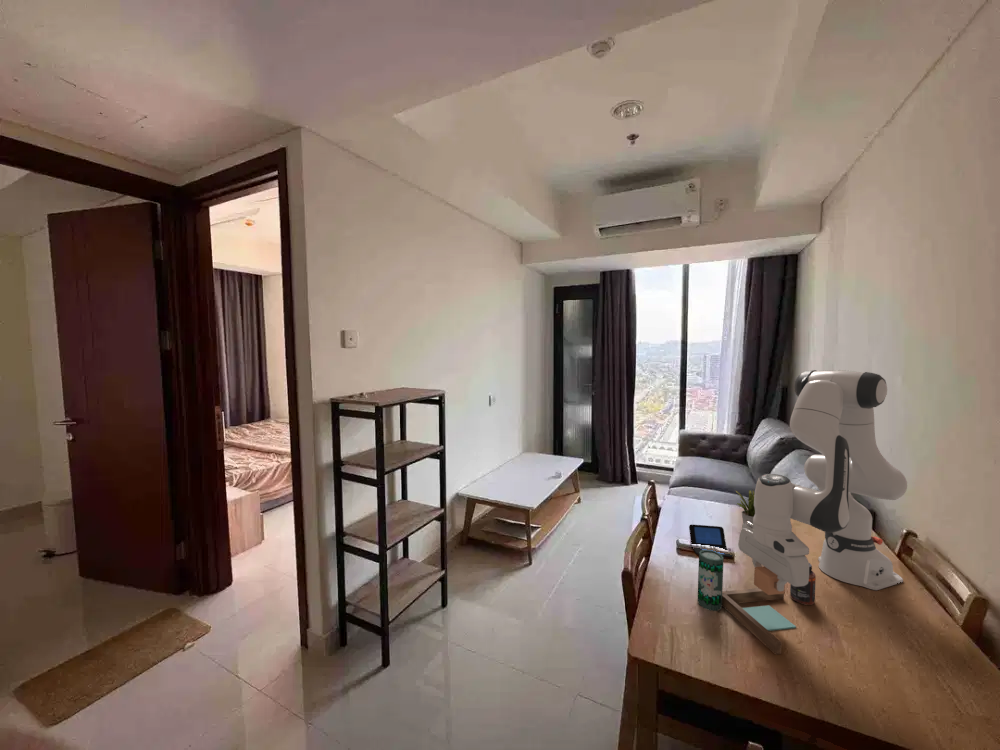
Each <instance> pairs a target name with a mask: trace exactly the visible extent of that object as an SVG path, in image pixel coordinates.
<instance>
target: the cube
mask: <svg viewBox="0 0 1000 750" xmlns="http://www.w3.org/2000/svg"><path fill="white" fill-rule="evenodd" d="M753 570H754V573H753V575H754V577H753V585H754V586H755V587H756V588H759V589H761V590H762V591H763V592H765V593H766V594H767V595H774V594H784V595H785V593H786V589H785V588H786V584H785V585H784V591H778V590H776V589H775V588H774V582H778V581H779V579H778V578H777V575H776V574H775V573H773V572H772V571H770V570H769V569H767V568H766V567H764V566H762V567H754V569H753Z"/></svg>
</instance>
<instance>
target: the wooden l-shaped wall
mask: <svg viewBox="0 0 1000 750" xmlns="http://www.w3.org/2000/svg"><path fill="white" fill-rule="evenodd" d="M784 596H785V594H774V595H767V594H766V593H765V592H763V591H762V590H761V589H759V588H758V587H756V588H746V589H745V588H744V589H735V590H724V591H723V590H722V607H723V608H724V609H725V610H726V611H727V612H728V613H730V614H731V615H732V616H733V617H734V618H735V619H737V620H738V622H739V623H740V624H742V625H743V626H744V627H745V628H746V629H747V630H748V631H749V632H750V633H751V634H752V635H753V636H755V638H757V639H758V640H759V641H760V642H762V644H764V645H765V646H766V647H767V648H768V649H769V650H770V651H771V652H772V653H773V654H775V655H781V654H782V641H781V640H780V639H778V638H777V637H776V636H775V635H774V634H772V633H771V631H768V630H767V629H766V628H765V627H763V626H762V625H761V624H760V623H759V622H758V621H756V620H755V619H754V618H753V617H752V616H751V615H749V614H748V613H747V612H746V611H745V610H744V609H743V608H744V607H742V606H740V605H739V604H741V603H744V604H745V603H750V602H751V603H753V602H763V601H772V600H774V601H775V600H782V599H783V600H784V598H785V597H784Z"/></svg>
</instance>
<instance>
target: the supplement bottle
mask: <svg viewBox="0 0 1000 750" xmlns="http://www.w3.org/2000/svg"><path fill="white" fill-rule="evenodd" d="M812 568H813V566H812V564H811V562H809V582H808V584H807V585H805V586H799V587H795V586H793V585H791V584H790V583H789V584H790V585H789V588H790V589H789V593H790V594H789V596H790V598H791V599H792V600H794V601H795V602H797V603H800V604H801V605H805V606H806V605H807V606H812V605H814V604H815V602H816V581H817V580H816V578H817V577H816V573H815V572H814V571H813V570H812Z"/></svg>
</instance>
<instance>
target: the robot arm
mask: <svg viewBox="0 0 1000 750" xmlns="http://www.w3.org/2000/svg"><path fill="white" fill-rule="evenodd" d="M794 392H795V395H796V396H797V399H796V401H795V404H794V406H793V407H794V408H793V410H792V413H791V416H790V419H789V429H790V431H791V433H792V435H793V436H794V437H795V438H796V439H797V440H798V441H800V442H801V443H802V444H804V445H805V446H808V447H809V448H811V449H813V450H815V451H816V452H818V453H821V454H812V455H810V456H809V457H808V458H807V459H806V461H805V462H804V466H803V468H804V473H805V476H806V477H807V479H808V480H809V481H810V482H812V484H814V486H815V487H817V489H818V490H817V489H813V488H810V487H806V486H802V485H799V484H796V483H794V482H793V483H792V482H791V481H792V480H790V479H789V478H788V477H787V476H785V475H781V474H777V473H767V474H766V473H765V474H762V475H760V476H759V477H758V478H757V481H756V485H755V490H754V493H755V495H754V508H755V515H754V518H753V524H752V523H751V522H748V521H746V522H744V523H743V522H742V525H741V529H740V531H739V538H738V549H739V550H740V551H741V552H742V553H743V554H745V555H746V556H748V557H749V558H751V559H752V565H753V567H754V568H755V567H766V568H767V569H769V570H770V571H772V572H773V573H775V574H776V575H777V578H778V579H779V581H778V582H774V588H775V589H776V590H778V591H784V585H785V586H786V585H787V583H788V584H791V585H793V586H795V587H799V586H805V585H807V584H808V582H809V563H810V562H809V560H808V558H807V556H808V555H809V554H810V548H809V547H808V546H807V545H806V544H805V542H803V541H802V540H801V539H800V538H799V537H798V536H797V535H796V534H795V533H794V532H793V531H792V530H793V526H792V522H791V520H795V521H797V522H799V523H803V524H805V525H809V526H811V527H813V528H815V529H817V530H820V531H821V532H824V540H823V543H822V547H821V549H822V550H821V554H820V556H818V559H817V560H818V562H819V563H818V567H819V569H820V571H822V572H823V573H824V574H826V575H827V576H829V577H831V578H834V579H836V580H838V581H841V582H843V583H848V584H851V585H854V586H860V587H864V588H866V589H870V590H871V591H878V590H879V591H880V590H883V589H885V588H888V587H892V586H895V585H898V584H901V583H903V582H904V579H903V577H901V575H899V574H898V573H896V572H895V571H894V565H893V562H892V559H890V558H889V557H888V556H887V555H885V554H884V553H882V552H881V551H880V550H879V549H877V548H876V544H877V545H882V544H883V542H884V541H883V539H882V538H879V537H877V536H875V535H874V536H872V531H873V516H872V514H871V512H870V511H869V510H868V508H867V507H865V506H864V505H863V504H861V503H860V502H858V501H857V500H856V499H855V498H854V496H853V495H852V494H856V495H860V496H864V497H867V498H872V499H875V500H876V499H877V500H885V501H886V500H887V501H888V500H889V501H897V500H899V499H900V498H902V497H903V496H904V495H905V494H906V492H907V489H908V481H907V479H906V477H905V475H904V473H902V471H901V470H899V469H898V468H896V467H895V466H893V465H892V464H891V463H890V462H889V461H888V460H887V459H886V458H885V457H884V455H883V454H882V453H881V452H880V449H879V447H878V445H877V440H876V431H875V408H877V407H879V406H881V405H882V404H883V403H884V402H885V399H886V397H887V395H888V385H887V382H886V379H885V378H884V377H882V375H880V374H878V373H874V372H870V371H869V372H868V371H864V372H862V371H854V370H853V371H852V370H846V369H845V370H841V369H839V370H815V369H814V370H813V369H812V370H806V371H803V372H802V373H800V374H799V375H797V377H796V379H795V381H794ZM900 582H901V583H900ZM897 583H898V584H897Z"/></svg>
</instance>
